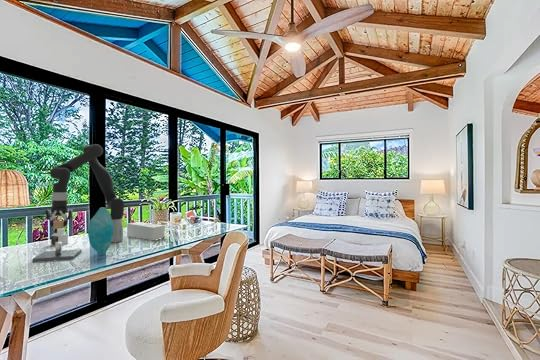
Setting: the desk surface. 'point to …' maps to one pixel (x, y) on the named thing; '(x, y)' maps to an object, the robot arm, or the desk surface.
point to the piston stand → (57, 254)
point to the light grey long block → (145, 230)
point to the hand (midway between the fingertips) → (58, 226)
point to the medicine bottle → (59, 236)
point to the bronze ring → (58, 224)
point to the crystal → (101, 231)
